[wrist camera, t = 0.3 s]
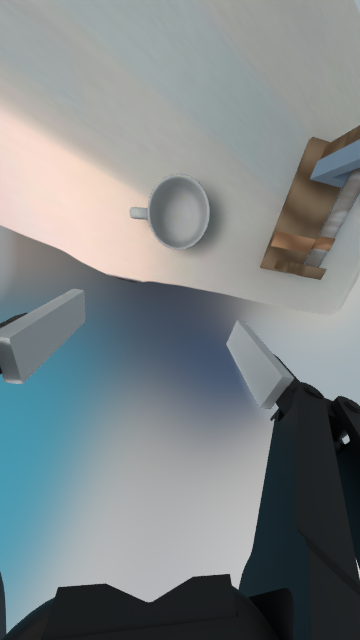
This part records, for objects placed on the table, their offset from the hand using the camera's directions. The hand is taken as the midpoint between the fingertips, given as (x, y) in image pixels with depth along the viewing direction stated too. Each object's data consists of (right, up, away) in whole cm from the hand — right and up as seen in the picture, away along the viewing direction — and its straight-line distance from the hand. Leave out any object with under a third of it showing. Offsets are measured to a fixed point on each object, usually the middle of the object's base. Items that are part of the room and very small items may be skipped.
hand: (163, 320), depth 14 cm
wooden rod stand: (+28, +23, +21) cm, 42 cm away
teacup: (-1, +22, +20) cm, 30 cm away
